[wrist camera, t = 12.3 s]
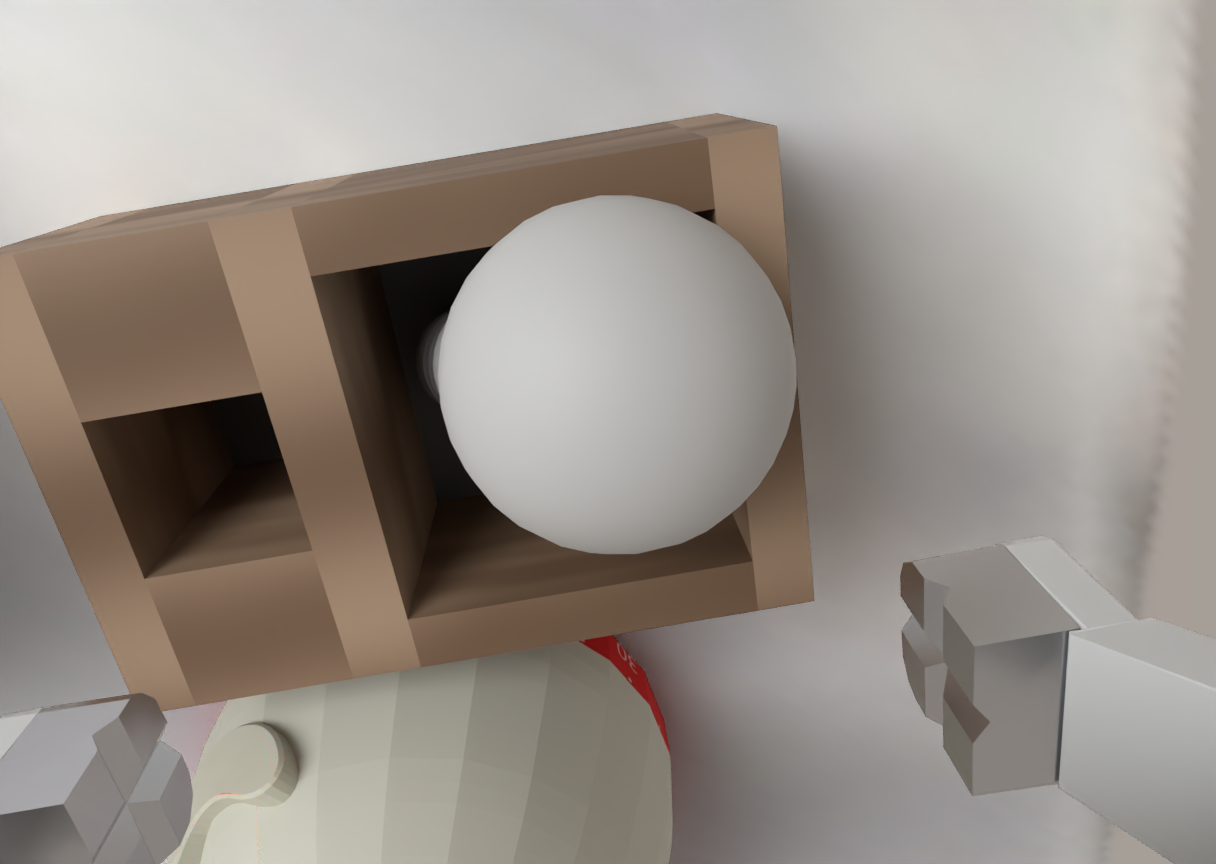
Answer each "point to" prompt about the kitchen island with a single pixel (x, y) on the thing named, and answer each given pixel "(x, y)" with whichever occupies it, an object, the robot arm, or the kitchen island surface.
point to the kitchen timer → (443, 767)
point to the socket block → (346, 422)
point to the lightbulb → (614, 374)
